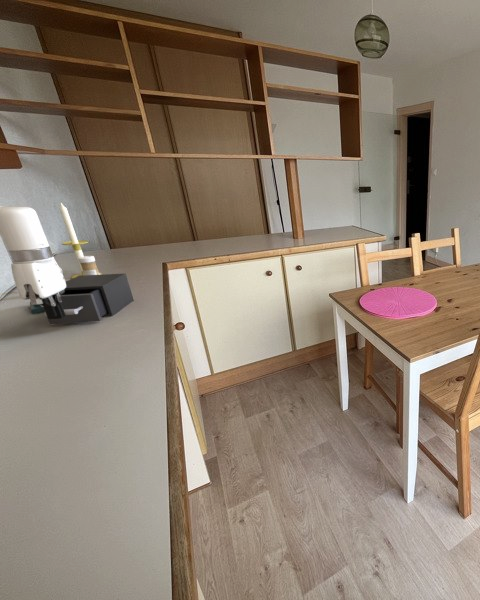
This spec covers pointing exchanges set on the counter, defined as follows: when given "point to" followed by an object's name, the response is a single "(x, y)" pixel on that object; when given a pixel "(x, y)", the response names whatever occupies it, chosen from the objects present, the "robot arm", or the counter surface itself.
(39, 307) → the block
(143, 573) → the counter surface
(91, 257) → the sprinkles bottle
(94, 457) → the counter surface
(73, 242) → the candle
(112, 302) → the dark grey drawer box
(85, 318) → the dark grey drawer
